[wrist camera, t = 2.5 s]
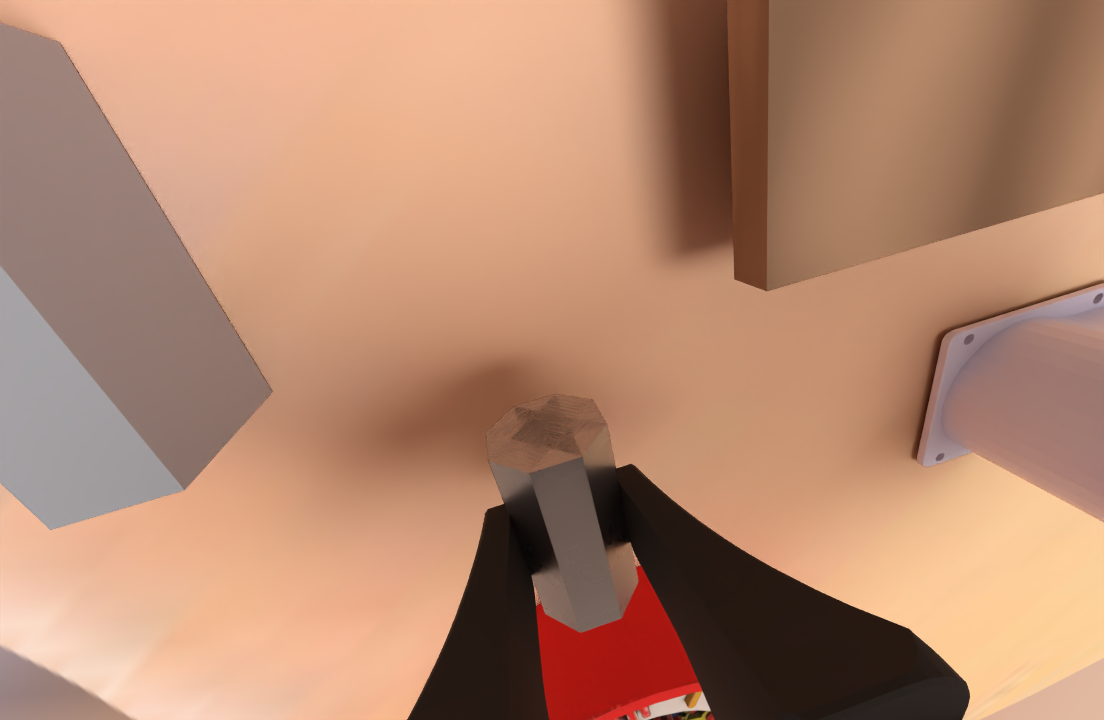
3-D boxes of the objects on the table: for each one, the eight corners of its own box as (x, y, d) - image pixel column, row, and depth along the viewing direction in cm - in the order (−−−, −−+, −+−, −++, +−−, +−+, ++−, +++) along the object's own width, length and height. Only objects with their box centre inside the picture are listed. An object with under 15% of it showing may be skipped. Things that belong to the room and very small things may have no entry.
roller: (583, 385, 12) (619, 445, 9) (615, 528, 15) (650, 608, 12) (484, 415, 12) (490, 485, 9) (534, 556, 14) (550, 643, 12)
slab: (1323, -245, 10) (1456, -310, 9) (1166, 155, 14) (1241, 152, 13) (723, -126, 9) (770, -182, 7) (734, 279, 13) (766, 291, 11)
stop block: (59, 42, 10) (-276, -71, 5) (272, 391, 14) (184, 490, 10) (-75, 70, 10) (-544, -25, 5) (183, 417, 14) (50, 529, 9)
